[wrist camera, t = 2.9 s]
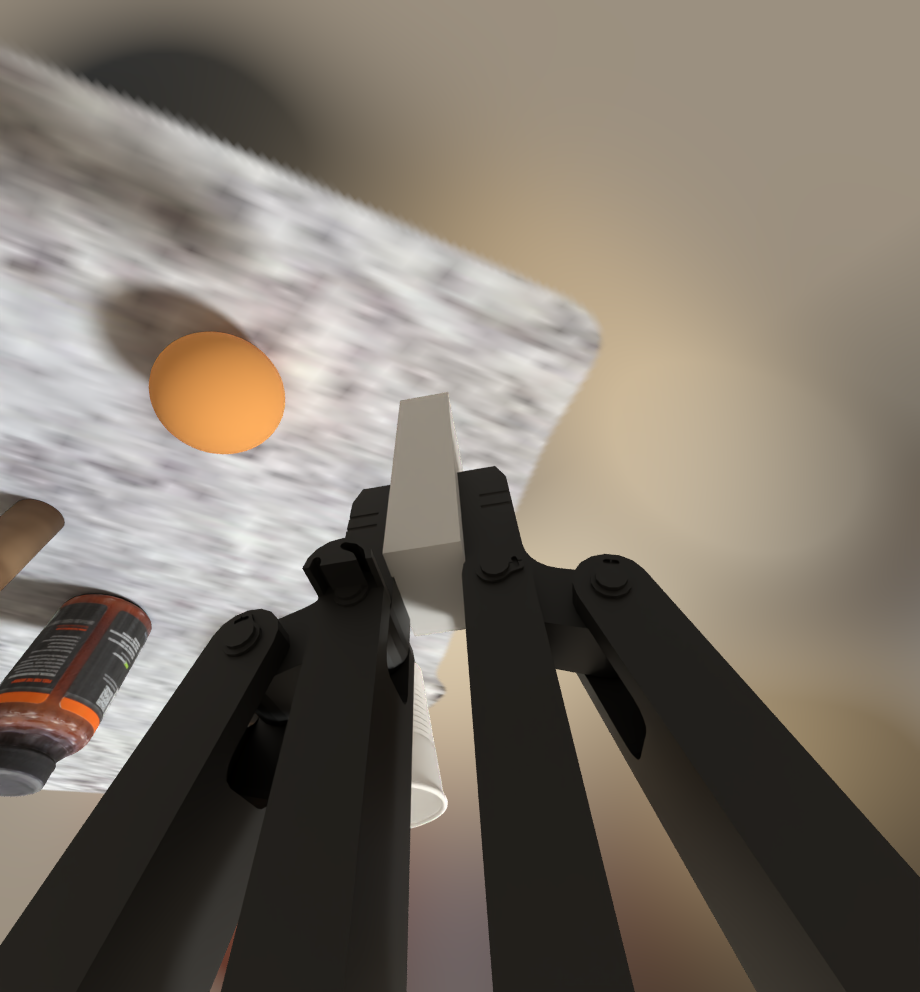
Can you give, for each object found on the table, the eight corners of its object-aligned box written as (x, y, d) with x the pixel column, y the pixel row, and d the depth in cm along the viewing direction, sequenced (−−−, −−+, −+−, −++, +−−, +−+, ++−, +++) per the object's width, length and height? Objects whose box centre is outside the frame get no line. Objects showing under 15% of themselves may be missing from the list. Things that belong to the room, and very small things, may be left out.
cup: (385, 708, 44) (376, 841, 36) (309, 669, 39) (277, 814, 30) (463, 671, 41) (474, 807, 33) (392, 623, 36) (383, 770, 27)
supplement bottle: (44, 605, 32) (-102, 779, 23) (106, 579, 31) (-23, 751, 22) (115, 646, 35) (11, 811, 26) (173, 624, 34) (85, 789, 25)
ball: (216, 427, 24) (171, 486, 20) (158, 328, 21) (89, 372, 17) (312, 410, 24) (288, 465, 20) (269, 306, 21) (228, 345, 16)
